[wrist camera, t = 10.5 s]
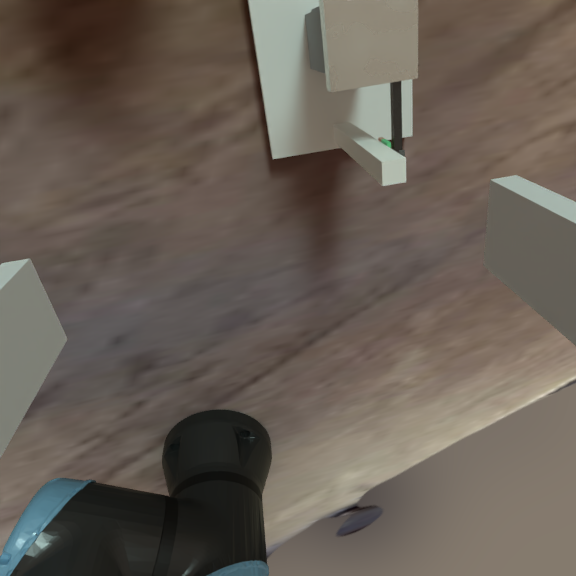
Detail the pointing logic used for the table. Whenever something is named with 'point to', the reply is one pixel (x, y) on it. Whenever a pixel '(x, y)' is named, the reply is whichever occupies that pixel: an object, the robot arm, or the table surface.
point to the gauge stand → (320, 94)
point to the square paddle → (371, 48)
